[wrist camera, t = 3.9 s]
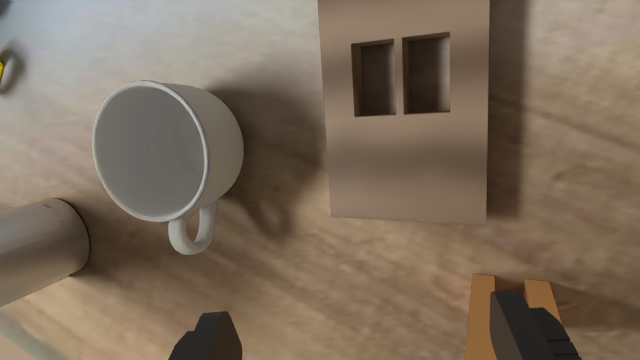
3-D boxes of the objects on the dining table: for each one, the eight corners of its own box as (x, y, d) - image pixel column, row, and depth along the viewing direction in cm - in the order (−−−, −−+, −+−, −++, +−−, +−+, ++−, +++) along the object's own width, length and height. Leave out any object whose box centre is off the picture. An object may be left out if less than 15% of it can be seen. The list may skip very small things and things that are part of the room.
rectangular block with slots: (486, 214, 29) (485, 225, 26) (342, 208, 33) (331, 216, 31) (491, -96, 25) (491, -114, 22) (326, -57, 29) (313, -70, 27)
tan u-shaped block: (546, 326, 29) (591, 513, 16) (472, 316, 31) (459, 475, 18) (548, 281, 28) (597, 439, 15) (472, 273, 30) (460, 408, 17)
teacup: (156, 89, 38) (77, 89, 31) (253, 74, 34) (188, 70, 26) (180, 229, 40) (113, 259, 33) (273, 231, 36) (220, 267, 29)
